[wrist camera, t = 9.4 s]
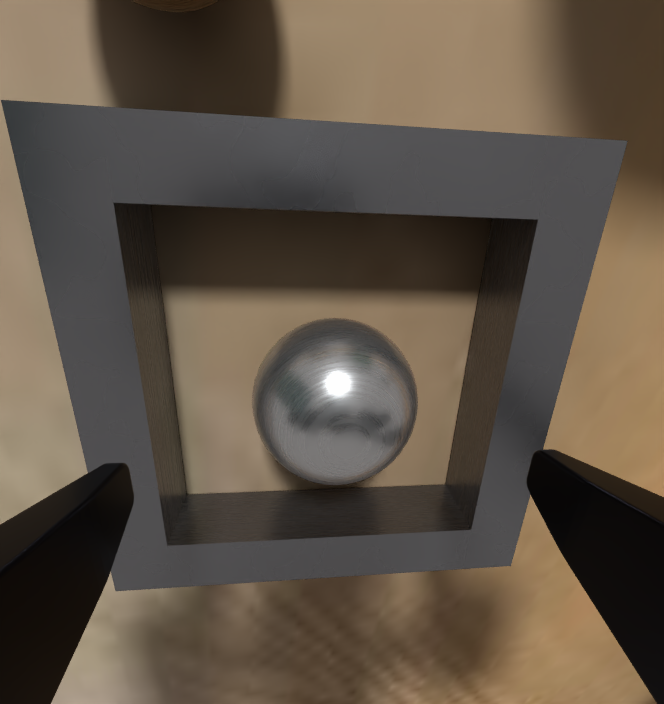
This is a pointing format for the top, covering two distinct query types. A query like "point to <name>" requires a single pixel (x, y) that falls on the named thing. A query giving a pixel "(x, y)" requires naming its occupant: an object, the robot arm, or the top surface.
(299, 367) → the steel ball
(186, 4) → the bronze ball
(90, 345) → the grey square frame
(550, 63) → the top surface
